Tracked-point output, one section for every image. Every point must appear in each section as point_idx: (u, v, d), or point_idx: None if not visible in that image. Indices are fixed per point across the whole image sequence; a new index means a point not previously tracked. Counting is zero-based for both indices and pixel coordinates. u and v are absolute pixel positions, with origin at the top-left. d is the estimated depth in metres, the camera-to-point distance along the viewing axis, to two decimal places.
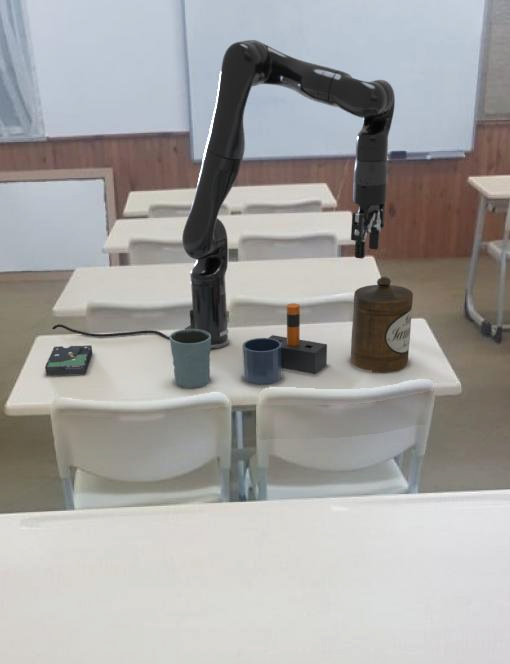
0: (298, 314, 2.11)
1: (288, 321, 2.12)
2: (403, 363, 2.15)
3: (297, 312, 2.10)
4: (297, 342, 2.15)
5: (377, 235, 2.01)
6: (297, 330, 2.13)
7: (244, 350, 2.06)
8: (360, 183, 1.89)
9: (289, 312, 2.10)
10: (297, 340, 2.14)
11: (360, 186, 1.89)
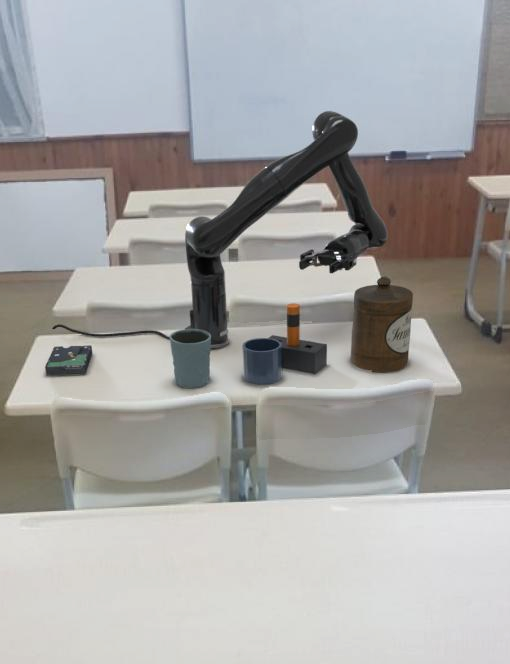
0: (298, 314, 2.11)
1: (288, 321, 2.12)
2: (403, 363, 2.15)
3: (297, 312, 2.10)
4: (297, 342, 2.15)
5: (307, 265, 2.21)
6: (297, 330, 2.13)
7: (244, 350, 2.06)
8: (355, 249, 2.26)
9: (289, 312, 2.10)
10: (297, 340, 2.14)
11: (354, 249, 2.25)
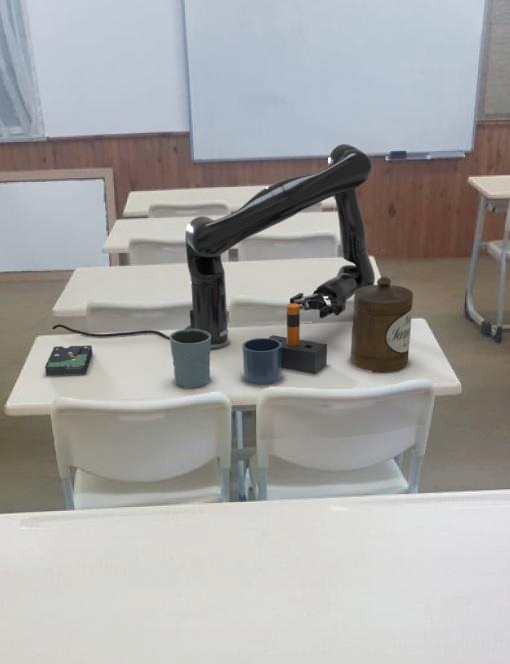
0: (298, 314, 2.11)
1: (288, 321, 2.12)
2: (403, 363, 2.15)
3: (297, 312, 2.10)
4: (297, 342, 2.15)
5: None
6: (297, 330, 2.13)
7: (244, 350, 2.06)
8: (344, 293, 2.28)
9: (289, 312, 2.10)
10: (297, 340, 2.14)
11: (343, 294, 2.27)
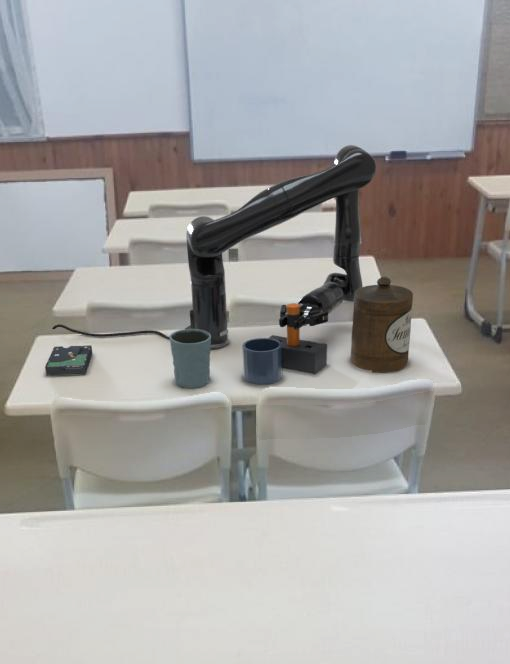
0: (298, 314, 2.11)
1: (288, 321, 2.12)
2: (403, 363, 2.15)
3: (297, 312, 2.10)
4: (297, 342, 2.15)
5: None
6: (297, 330, 2.13)
7: (244, 350, 2.06)
8: (330, 303, 2.21)
9: (289, 312, 2.10)
10: (297, 340, 2.14)
11: (329, 303, 2.21)
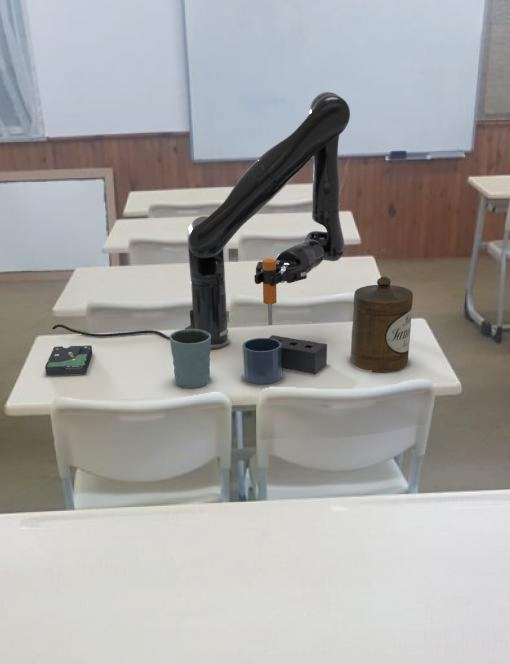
0: (274, 270, 1.99)
1: (264, 277, 2.00)
2: (403, 363, 2.15)
3: (273, 267, 1.98)
4: (274, 300, 2.03)
5: None
6: (274, 287, 2.01)
7: (244, 350, 2.06)
8: (309, 260, 2.09)
9: (265, 268, 1.98)
10: (274, 298, 2.02)
11: (308, 261, 2.09)
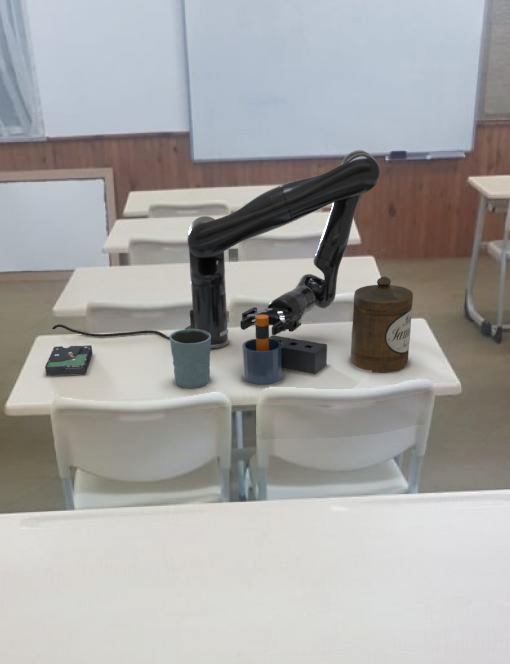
0: (267, 325, 2.04)
1: (257, 333, 2.05)
2: (403, 363, 2.15)
3: (266, 323, 2.04)
4: None
5: (250, 325, 2.08)
6: (266, 342, 2.06)
7: (244, 350, 2.06)
8: (300, 307, 2.14)
9: (258, 323, 2.04)
10: None
11: (299, 308, 2.13)
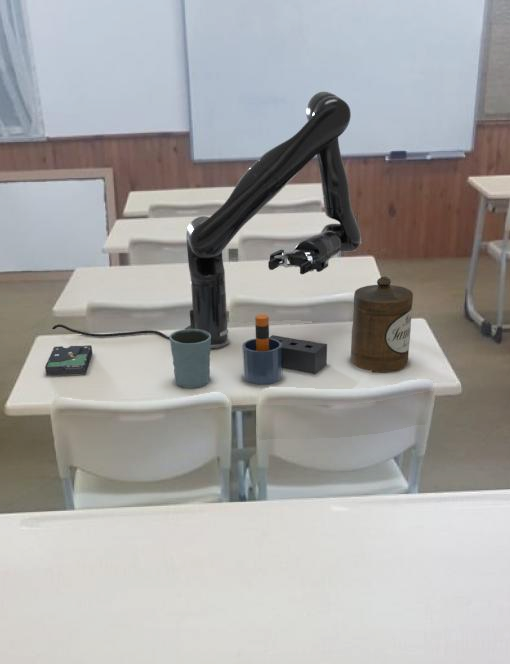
0: (267, 325, 2.04)
1: (257, 333, 2.05)
2: (403, 363, 2.15)
3: (266, 323, 2.04)
4: None
5: (277, 266, 2.10)
6: (266, 342, 2.06)
7: (244, 350, 2.06)
8: (327, 250, 2.15)
9: (258, 323, 2.04)
10: None
11: (326, 251, 2.15)
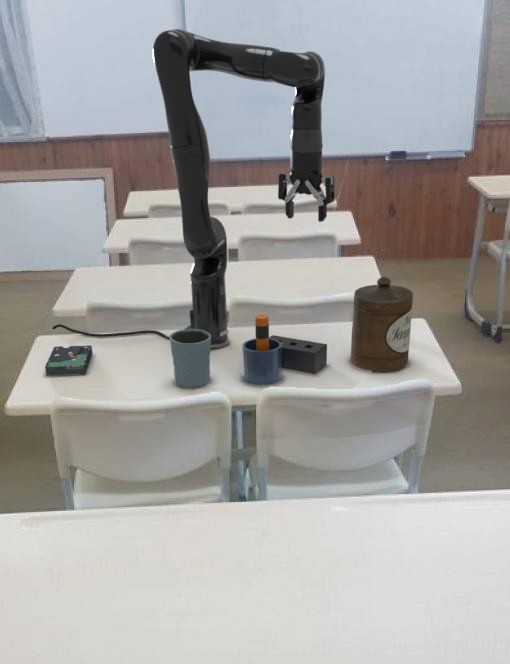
0: (267, 325, 2.04)
1: (257, 333, 2.05)
2: (403, 363, 2.15)
3: (266, 323, 2.04)
4: None
5: (293, 203, 2.10)
6: (266, 342, 2.06)
7: (244, 350, 2.06)
8: (318, 150, 1.99)
9: (258, 323, 2.04)
10: None
11: (318, 153, 1.99)
